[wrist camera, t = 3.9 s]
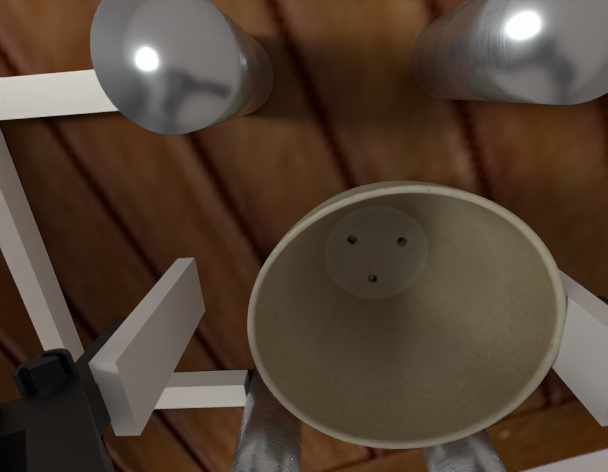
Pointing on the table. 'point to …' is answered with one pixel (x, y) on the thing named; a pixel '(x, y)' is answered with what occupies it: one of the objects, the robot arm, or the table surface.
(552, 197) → the table surface
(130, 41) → the spacers
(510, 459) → the table surface
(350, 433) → the flower pot
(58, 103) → the frame
